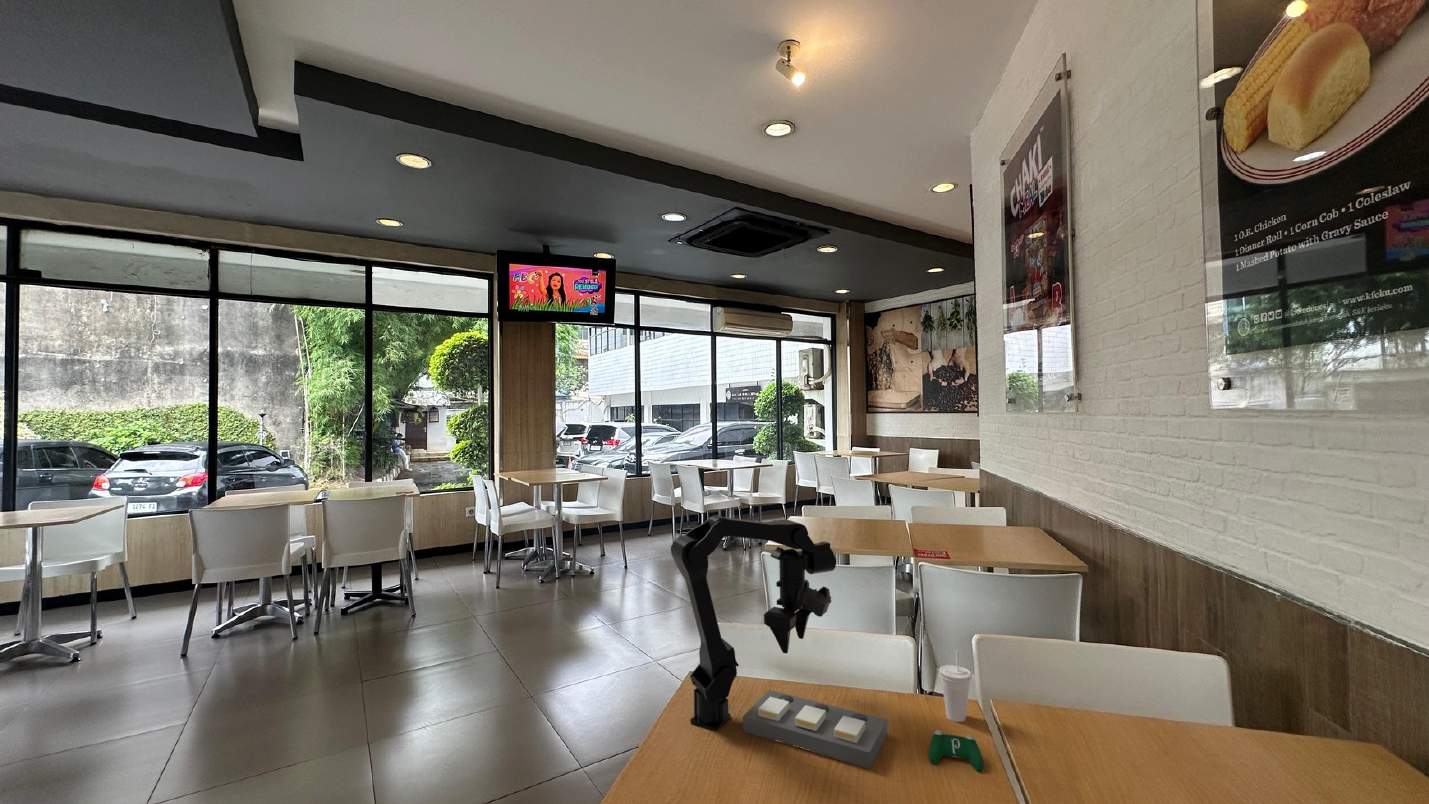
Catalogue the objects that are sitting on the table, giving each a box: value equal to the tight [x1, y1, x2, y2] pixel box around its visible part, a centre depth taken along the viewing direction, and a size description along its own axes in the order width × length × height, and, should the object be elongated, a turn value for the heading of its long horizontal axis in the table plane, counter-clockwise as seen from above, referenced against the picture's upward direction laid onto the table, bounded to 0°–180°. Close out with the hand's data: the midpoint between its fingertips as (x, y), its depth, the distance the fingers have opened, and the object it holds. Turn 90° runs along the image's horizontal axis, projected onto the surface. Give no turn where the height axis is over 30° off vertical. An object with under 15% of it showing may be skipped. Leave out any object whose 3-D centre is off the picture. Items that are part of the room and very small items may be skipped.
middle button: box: [795, 705, 826, 731], centre depth 116 cm, size 4×6×2 cm
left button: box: [759, 697, 789, 721], centre depth 120 cm, size 4×6×2 cm
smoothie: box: [938, 650, 973, 723], centre depth 123 cm, size 6×6×14 cm
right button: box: [834, 716, 865, 743], centre depth 112 cm, size 4×6×2 cm
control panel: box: [742, 689, 888, 770], centre depth 118 cm, size 26×13×3 cm, turn 60°
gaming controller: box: [928, 729, 985, 772], centre depth 108 cm, size 9×4×6 cm
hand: (793, 645), depth 132 cm, fingers open, 9 cm apart
